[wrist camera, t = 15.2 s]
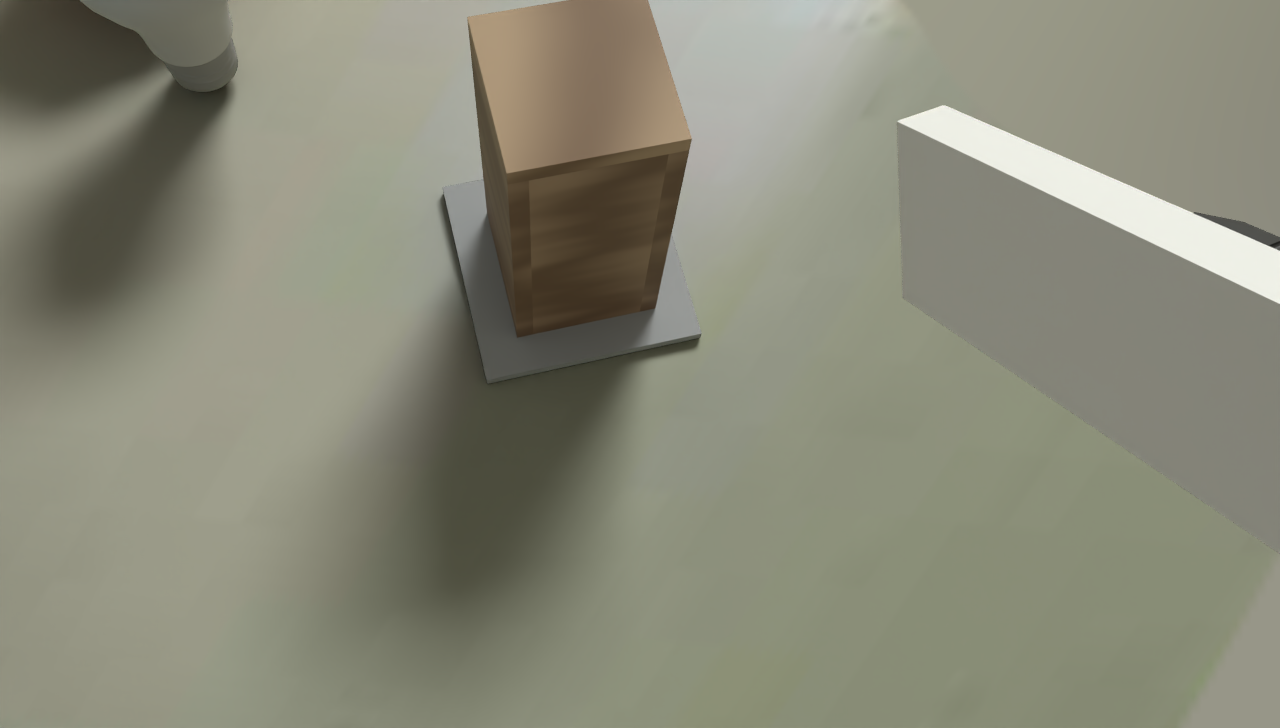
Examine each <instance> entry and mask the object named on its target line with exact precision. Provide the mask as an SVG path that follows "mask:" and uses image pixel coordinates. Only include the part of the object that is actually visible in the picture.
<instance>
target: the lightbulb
mask: <svg viewBox="0 0 1280 728" xmlns="http://www.w3.org/2000/svg"><path fill="white" fill-rule="evenodd" d="M80 1H81V2H82V3H83V4H85V5H86V6H87V7H88V8H89V9H91V10H92V11H93V12H95V13H97V14H99V15H101V16H103V17H105V18H107V19H109V20H111V21H113V22H115V23H117V24H119V25H121V26H123V27H126V28H129V29H132V30H134V31H136V32H137V33H138V34H139V35H140V36H141V37H142V38H143V39H144V41H145V42H146V44H147V46H148V47H149V49H150V50H151V51H152V52H153V54H155V55H156V56H157V57H158V58H160V59H161V60H162V61H163V62H164V63H165V65H166V66H167V68H168V70H169V71H170V72H171V74H172V75H173V77H174V78H175V80H176V81H177V82H178V83H179V84H180V85H181V86H182V87H184V88H186V89H188V90H192V91H196V92H209V91H213V90H216V89H219V88H221V87H223V86H224V85H226V84H227V83H228V82H229V81H230V80H231V79H232V78H233V76H234V75H235V73H236V71H237V67H238V59H237V55H236V50H235V47H234V44H233V40H232V38H231V36H232V26H233V25H232V20H231V16H230V13H229V8H228V0H80Z"/></svg>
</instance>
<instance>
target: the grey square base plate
mask: <svg viewBox="0 0 1280 728" xmlns="http://www.w3.org/2000/svg"><path fill="white" fill-rule="evenodd" d="M443 193H444V197H445V202H446V206H447V210H448V215H449V219H450V223H451V228H452V232H453V236H454V241H455V245H456V250H457V254H458V258H459V263H460V267H461V271H462V276H463V280H464V284H465V289H466V293H467V298H468V302H469V306H470V311H471V315H472V319H473V324H474V328H475V332H476V337H477V341H478V346H479V350H480V354H481V359H482V363H483V367H484V372H485V376H486V380H487V384H489V383H493V382H498V381H503V380H507V379H512V378H516V377H521V376H526V375H530V374H535V373H540V372H544V371H549V370H553V369H558V368H563V367H567V366H572V365H576V364H581V363H586V362H590V361H595V360H599V359H604V358H609V357H613V356H618V355H623V354H627V353H632V352H636V351H641V350H646V349H650V348H655V347H659V346H664V345H669V344H673V343H678V342H683V341H687V340H692V339H696V338H700V337H701V334H702V333H701V330H700V326H699V323H698V320H697V317H696V313H695V310H694V307H693V303H692V300H691V297H690V293H689V290H688V287H687V283H686V280H685V277H684V273H683V270H682V267H681V263H680V260H679V257H678V253H677V250H676V247H675V243H674V240H673V237H672V233H671V238H670V243H669V247H668V252H667V257H666V262H665V266H664V271H663V276H662V280H661V285H660V290H659V294H658V299H657V304H656V308H655V309H650V310H646V311H641V312H636V313H631V314H627V315H622V316H617V317H613V318H608V319H603V320H598V321H594V322H589V323H584V324H579V325H575V326H570V327H565V328H560V329H556V330H551V331H546V332H542V333H537V334H532V335H527V336H523V337H518V338H517V335H516V331H515V327H514V323H513V318H512V314H511V310H510V306H509V302H508V298H507V294H506V290H505V285H504V281H503V277H502V273H501V269H500V265H499V261H498V256H497V252H496V248H495V244H494V240H493V236H492V232H491V228H490V223H489V219H488V215H487V208H486V198H485V188H484V179H483V180H477V181H472V182H467V183H461V184H456V185H451V186H445V187H443Z"/></svg>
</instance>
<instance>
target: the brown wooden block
mask: <svg viewBox="0 0 1280 728" xmlns="http://www.w3.org/2000/svg"><path fill="white" fill-rule="evenodd" d="M467 18H468V28H469V38H470V48H471V58H472V68H473V78H474V88H475V98H476V108H477V118H478V128H479V138H480V148H481V158H482V168H483V178H484V188H485V198H486V208H487V215H488V219H489V223H490V228H491V232H492V236H493V240H494V244H495V248H496V252H497V256H498V261H499V265H500V269H501V273H502V277H503V281H504V285H505V290H506V294H507V298H508V302H509V306H510V310H511V314H512V318H513V323H514V327H515V331H516V335H517V338H518V337H523V336H527V335H532V334H537V333H542V332H546V331H551V330H556V329H560V328H565V327H570V326H575V325H579V324H584V323H589V322H594V321H598V320H603V319H608V318H613V317H617V316H622V315H627V314H631V313H636V312H641V311H646V310H650V309H655V308H656V304H657V299H658V294H659V290H660V285H661V280H662V276H663V271H664V266H665V262H666V257H667V252H668V247H669V243H670V238H671V233H672V229H673V224H674V219H675V215H676V210H677V205H678V201H679V196H680V191H681V186H682V182H683V177H684V172H685V168H686V163H687V158H688V154H689V149H690V144H691V140H692V138H691V135H690V132H689V129H688V125H687V122H686V119H685V116H684V113H683V110H682V107H681V103H680V100H679V97H678V94H677V91H676V88H675V84H674V81H673V78H672V75H671V72H670V69H669V66H668V62H667V59H666V56H665V53H664V50H663V47H662V43H661V40H660V37H659V34H658V31H657V28H656V25H655V21H654V18H653V15H652V12H651V9H650V6H649V2H648V0H567V1H561V2H555V3H549V4H543V5H537V6H531V7H525V8H519V9H513V10H507V11H501V12H495V13H489V14H483V15H477V16H471V17H467Z"/></svg>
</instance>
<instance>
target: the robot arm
mask: <svg viewBox="0 0 1280 728" xmlns="http://www.w3.org/2000/svg"><path fill="white" fill-rule="evenodd" d="M897 146H898V175H899V204H900V233H901V262H902V291H903V298H904V299H905V300H906V301H908V302H909V303H911V304H912V305H914V306H915V307H917V308H918V309H920V310H921V311H923V312H924V313H926V314H927V315H929V316H930V317H932V318H933V319H934V320H936V321H937V322H939V323H940V324H942V325H943V326H945V327H946V328H948V329H949V330H951V331H952V332H954V333H955V334H957V335H958V336H960V337H961V338H962V339H964V340H965V341H967V342H968V343H970V344H971V345H973V346H974V347H976V348H977V349H979V350H980V351H982V352H983V353H985V354H986V355H987V356H989V357H990V358H992V359H993V360H995V361H996V362H998V363H999V364H1001V365H1002V366H1004V367H1005V368H1007V369H1008V370H1010V371H1011V372H1013V373H1014V374H1015V375H1017V376H1018V377H1020V378H1021V379H1023V380H1024V381H1026V382H1027V383H1029V384H1030V385H1032V386H1033V387H1035V388H1036V389H1038V390H1039V391H1041V392H1042V393H1043V394H1045V395H1046V396H1048V397H1049V398H1051V399H1052V400H1054V401H1055V402H1057V403H1058V404H1060V405H1061V406H1063V407H1064V408H1066V409H1067V410H1068V411H1070V412H1071V413H1073V414H1074V415H1076V416H1077V417H1079V418H1080V419H1082V420H1083V421H1085V422H1086V423H1088V424H1089V425H1091V426H1092V427H1094V428H1095V429H1096V430H1098V431H1099V432H1101V433H1102V434H1104V435H1105V436H1107V437H1108V438H1110V439H1111V440H1113V441H1114V442H1116V443H1117V444H1119V445H1120V446H1122V447H1123V448H1124V449H1126V450H1127V451H1129V452H1130V453H1132V454H1133V455H1135V456H1136V457H1138V458H1139V459H1141V460H1142V461H1144V462H1145V463H1147V464H1148V465H1149V466H1151V467H1152V468H1154V469H1155V470H1157V471H1158V472H1160V473H1161V474H1163V475H1164V476H1166V477H1167V478H1169V479H1170V480H1172V481H1173V482H1175V483H1176V484H1177V485H1179V486H1180V487H1182V488H1183V489H1185V490H1186V491H1188V492H1189V493H1191V494H1192V495H1194V496H1195V497H1197V498H1198V499H1200V500H1201V501H1203V502H1204V503H1205V504H1207V505H1208V506H1210V507H1211V508H1213V509H1214V510H1216V511H1217V512H1219V513H1220V514H1222V515H1223V516H1225V517H1226V518H1228V519H1229V520H1231V521H1232V522H1233V523H1235V524H1236V525H1238V526H1239V527H1241V528H1242V529H1244V530H1245V531H1247V532H1248V533H1250V534H1251V535H1253V536H1254V537H1256V538H1257V539H1258V540H1260V541H1261V542H1263V543H1264V544H1266V545H1267V546H1269V547H1270V548H1272V549H1273V550H1275V551H1276V552H1278V553H1279V554H1280V237H1278V236H1275V235H1273V234H1270V233H1268V232H1266V231H1264V230H1261V229H1259V228H1257V227H1254V226H1252V225H1249V224H1247V223H1245V222H1241V221H1236V220H1231V219H1226V218H1221V217H1216V216H1211V215H1206V214H1201V213H1196V212H1194V213H1191V212H1189V211H1187V210H1184V209H1182V208H1180V207H1177V206H1175V205H1173V204H1171V203H1168V202H1166V201H1164V200H1161V199H1159V198H1157V197H1154V196H1152V195H1150V194H1148V193H1145V192H1143V191H1140V190H1138V189H1136V188H1134V187H1131V186H1129V185H1127V184H1125V183H1122V182H1120V181H1118V180H1115V179H1113V178H1111V177H1108V176H1106V175H1104V174H1102V173H1099V172H1097V171H1094V170H1092V169H1090V168H1088V167H1085V166H1083V165H1081V164H1078V163H1076V162H1074V161H1071V160H1069V159H1067V158H1065V157H1062V156H1060V155H1058V154H1055V153H1053V152H1051V151H1049V150H1046V149H1044V148H1042V147H1039V146H1037V145H1035V144H1032V143H1030V142H1028V141H1026V140H1023V139H1021V138H1019V137H1016V136H1014V135H1012V134H1009V133H1007V132H1005V131H1003V130H1000V129H998V128H996V127H993V126H991V125H989V124H986V123H984V122H982V121H979V120H977V119H975V118H973V117H970V116H968V115H966V114H963V113H961V112H959V111H956V110H954V109H952V108H950V107H947V106H945V105H943V106H940V107H937V108H934V109H931V110H928V111H925V112H922V113H919V114H916V115H913V116H910V117H907V118H905V119H902V120H899V121H897Z"/></svg>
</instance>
